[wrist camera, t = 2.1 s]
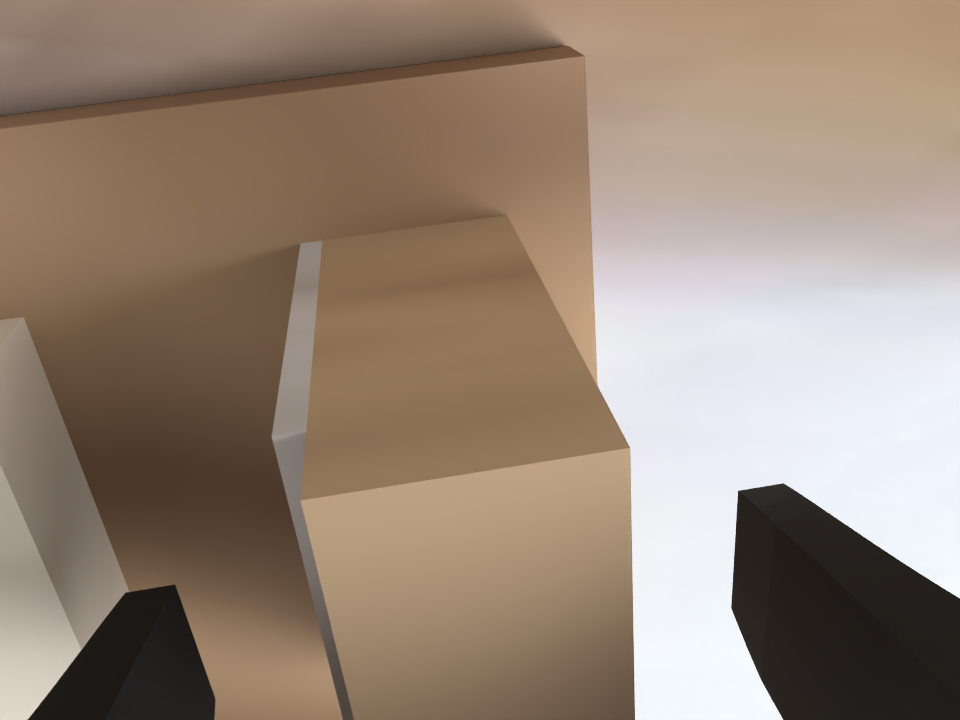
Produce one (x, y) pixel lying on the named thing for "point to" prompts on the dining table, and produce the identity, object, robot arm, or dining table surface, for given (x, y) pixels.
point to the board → (256, 302)
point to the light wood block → (454, 483)
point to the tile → (44, 536)
